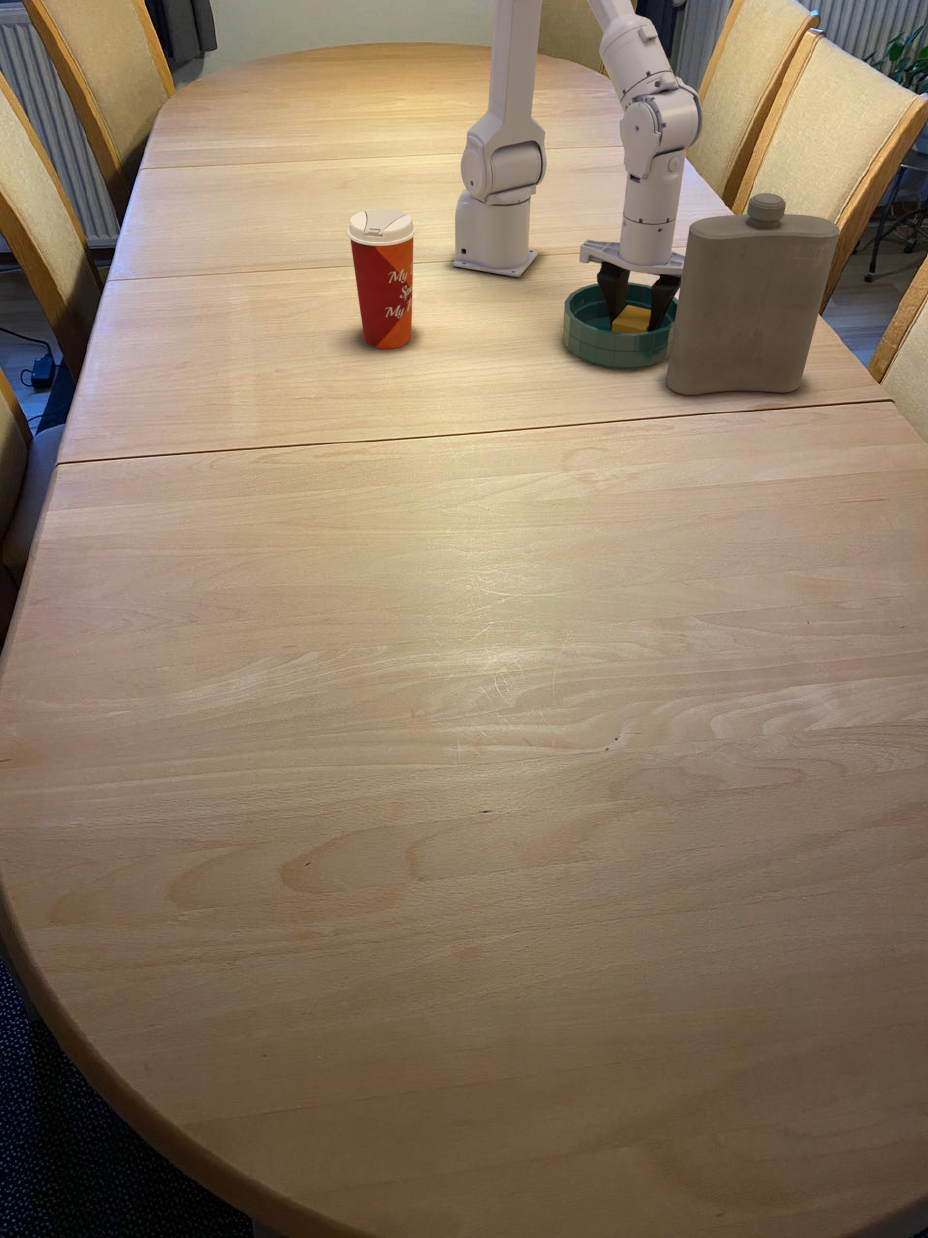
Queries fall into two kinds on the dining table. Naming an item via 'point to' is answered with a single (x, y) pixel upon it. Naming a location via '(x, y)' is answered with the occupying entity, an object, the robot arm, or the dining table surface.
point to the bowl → (609, 349)
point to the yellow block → (632, 320)
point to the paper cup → (384, 274)
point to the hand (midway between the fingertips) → (634, 331)
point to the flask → (749, 299)
